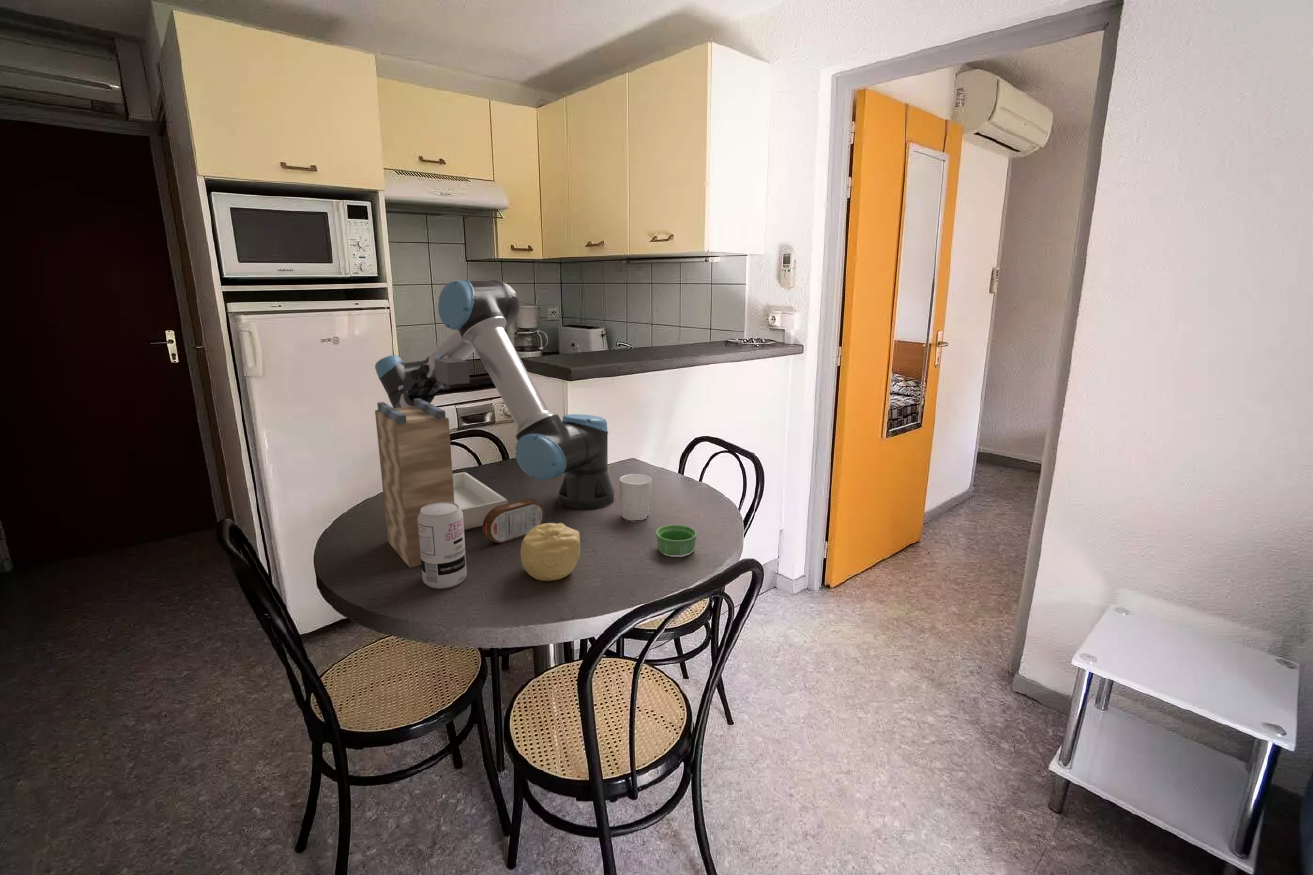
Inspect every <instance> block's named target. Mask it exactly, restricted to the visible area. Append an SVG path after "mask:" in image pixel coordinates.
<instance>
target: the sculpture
mask: <svg viewBox="0 0 1313 875" xmlns="http://www.w3.org/2000/svg"><path fill="white" fill-rule="evenodd" d="M580 558H581V536H580V531H578V530H576V529H574V528H571V527H568V526H567V525H566V524H564V523H562V522H559V523H556V522H548V523H542V524H541V525H538V526H536V527H534V528H533V529H531V530H530V531H529V532H528V533H527V534H526V536H524V538H523V539H522V542H521V545H520V559H521V563H522V567H523V568H524V570H525V571H526V573H527V574H528V575H529V576H531V578H533V579H535V580H537V581H538V580H539V581H542V582H543V581H544V582H552V581H553V582H554V581H558V580H561V579H564V578H565V577H567V576H569V575H570V574H571V573H572V572H573V571H574V569H575V567H576V565H577V563H578V561H579V559H580Z"/></svg>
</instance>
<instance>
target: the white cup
mask: <svg viewBox="0 0 1313 875" xmlns="http://www.w3.org/2000/svg"><path fill="white" fill-rule="evenodd" d="M651 492H652V478H651V476H648V475H646V474H641V473H640V474H639V473H631V474H624V475H622V476H621V477H619V495H620V496H619V497H620V508H621V518H622V517H623V518H625V519H628V520H641V519H644V518H646V517H647V516H648V515H649V516H650V506H651V505H650V504H651ZM623 518H622V519H623ZM625 519H624V520H625ZM628 520H627V521H628Z"/></svg>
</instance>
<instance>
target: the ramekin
mask: <svg viewBox="0 0 1313 875" xmlns="http://www.w3.org/2000/svg"><path fill="white" fill-rule="evenodd" d="M655 535H656V536H655V537H656V540H657V541H656V542H657V550H658V549H659V550H660V552H662V553H665V554H668V555H683V554H687V553H690V552H691V551H693V549H694V550H695V548H694V547H695V546H696V538H697V535H698V532H697V531H696V529H694V528H693V527H691V526H689V525H683V524H667V525H663V526H660V527H658V528H657V529H656V531H655ZM660 552H659V553H660Z"/></svg>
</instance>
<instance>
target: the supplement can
mask: <svg viewBox="0 0 1313 875" xmlns="http://www.w3.org/2000/svg"><path fill="white" fill-rule="evenodd" d="M417 521H418V532H419V544H420V555H421V565H420V566H421V576H422V577H421V578H422V581H423V583H424V584H425V585H426V586H427V587H430V588H432V589H449V588H453V587H455V586H458V585H459V584H461V583H462V582H463V581H464V580H465V578H466V577H467V575H468V571H467V569H468V568H467V557H466V556H467V555H466V543H465V542H466V540H465V539H466V538H465V530H464V523H463V512H462V511H461V509H460V508H459V505H458V504H456V503H452V502H438V503H432V504H428V505H426V506H424V507H422V508H421V510H420V513H419V516H418V519H417Z"/></svg>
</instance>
